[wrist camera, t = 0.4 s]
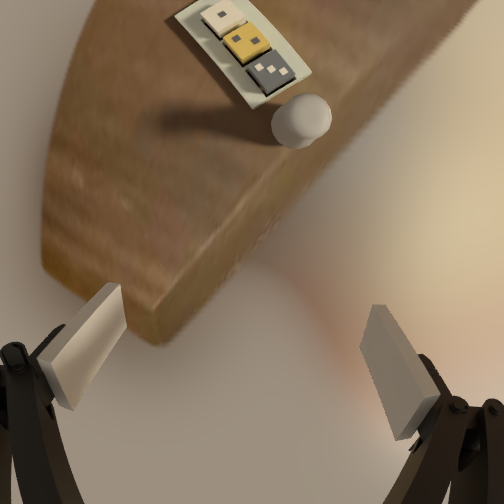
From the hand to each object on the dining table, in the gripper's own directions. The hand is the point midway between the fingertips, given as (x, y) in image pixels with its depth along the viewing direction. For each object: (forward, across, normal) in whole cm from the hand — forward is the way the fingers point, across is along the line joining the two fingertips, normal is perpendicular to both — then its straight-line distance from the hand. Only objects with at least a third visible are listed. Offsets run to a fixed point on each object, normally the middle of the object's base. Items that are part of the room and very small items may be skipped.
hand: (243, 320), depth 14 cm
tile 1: (+24, -6, +26) cm, 36 cm away
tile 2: (+24, -3, +22) cm, 33 cm away
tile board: (+26, -4, +23) cm, 35 cm away
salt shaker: (+26, +4, +11) cm, 29 cm away
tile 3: (+24, 0, +18) cm, 30 cm away
